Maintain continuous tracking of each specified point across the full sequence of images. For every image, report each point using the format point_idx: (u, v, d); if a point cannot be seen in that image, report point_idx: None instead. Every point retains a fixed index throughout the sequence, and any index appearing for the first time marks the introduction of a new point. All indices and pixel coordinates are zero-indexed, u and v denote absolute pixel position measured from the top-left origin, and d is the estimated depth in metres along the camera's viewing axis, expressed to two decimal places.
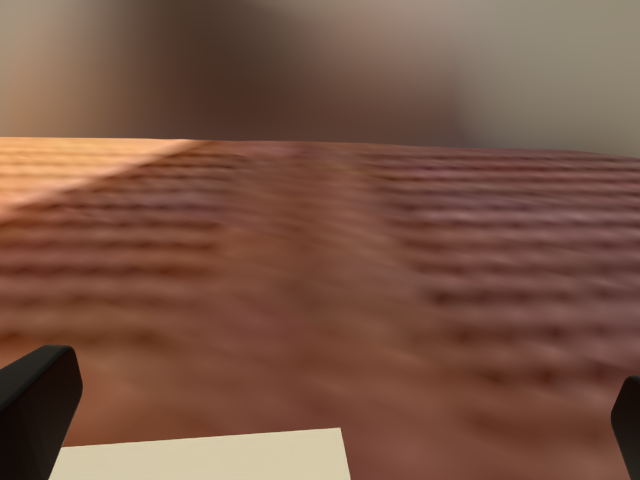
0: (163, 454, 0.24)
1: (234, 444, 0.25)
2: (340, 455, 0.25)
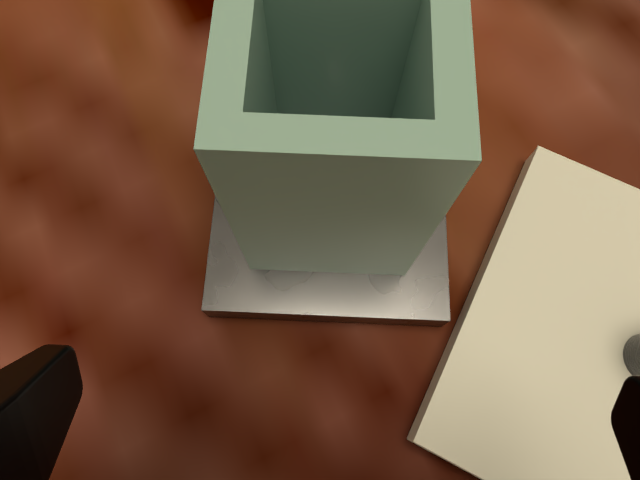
0: None
1: None
2: None
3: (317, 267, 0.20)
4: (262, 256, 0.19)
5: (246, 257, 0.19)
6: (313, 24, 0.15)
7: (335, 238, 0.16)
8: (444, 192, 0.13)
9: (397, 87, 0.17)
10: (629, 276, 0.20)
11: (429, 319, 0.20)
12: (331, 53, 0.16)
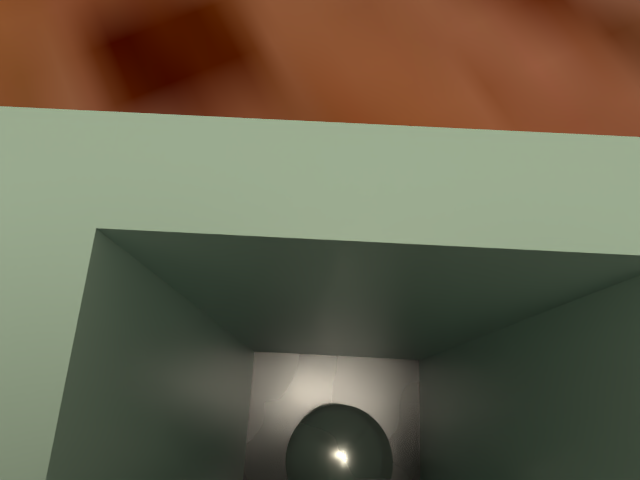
0: None
1: None
2: None
3: None
4: None
5: None
6: (296, 293, 0.06)
7: None
8: None
9: (475, 336, 0.08)
10: None
11: None
12: (339, 314, 0.07)
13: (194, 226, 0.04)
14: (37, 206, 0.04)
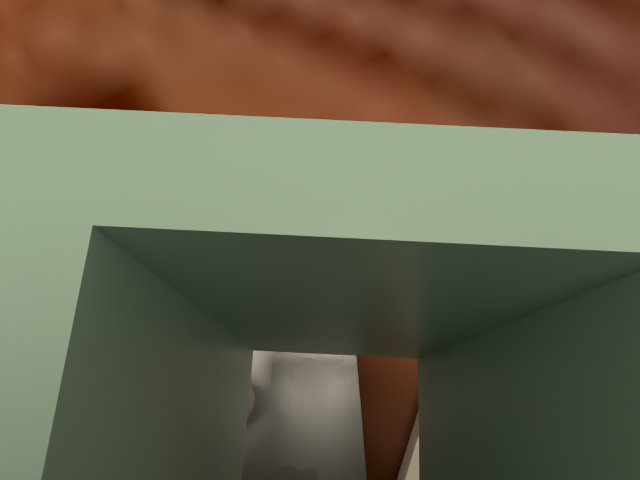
0: None
1: None
2: None
3: None
4: None
5: None
6: (293, 290, 0.06)
7: None
8: None
9: (473, 334, 0.08)
10: None
11: None
12: (337, 311, 0.07)
13: (191, 224, 0.04)
14: (34, 204, 0.04)
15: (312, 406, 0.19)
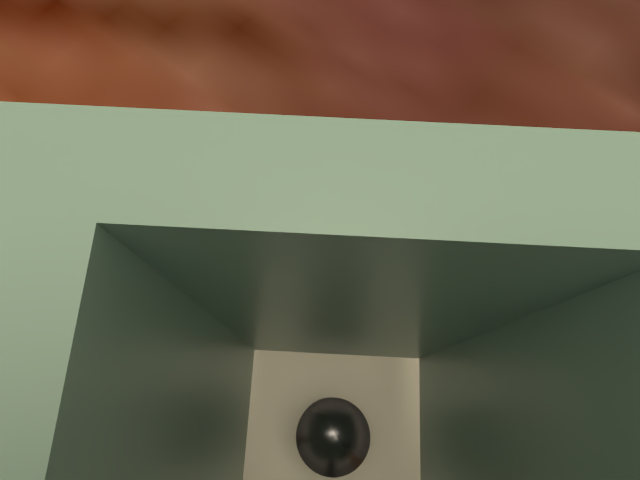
0: None
1: None
2: None
3: None
4: None
5: None
6: (296, 289, 0.06)
7: None
8: None
9: (476, 334, 0.08)
10: None
11: None
12: (339, 310, 0.07)
13: (196, 221, 0.04)
14: (38, 201, 0.04)
15: None
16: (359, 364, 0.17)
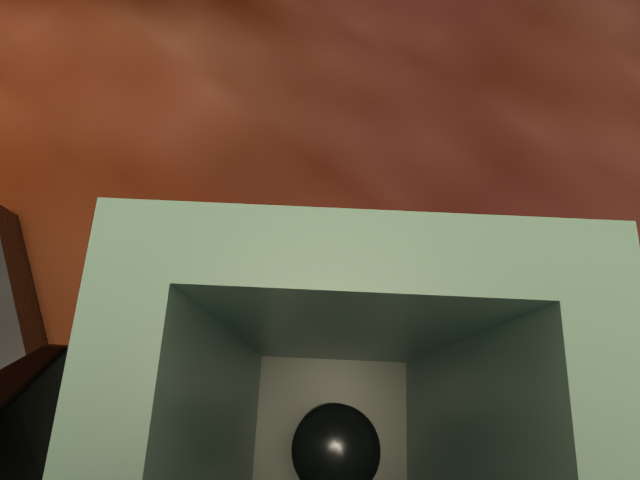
0: None
1: None
2: None
3: None
4: None
5: None
6: (300, 317, 0.08)
7: None
8: None
9: (446, 345, 0.10)
10: None
11: None
12: (334, 329, 0.09)
13: (236, 281, 0.06)
14: (130, 268, 0.06)
15: None
16: (365, 364, 0.15)
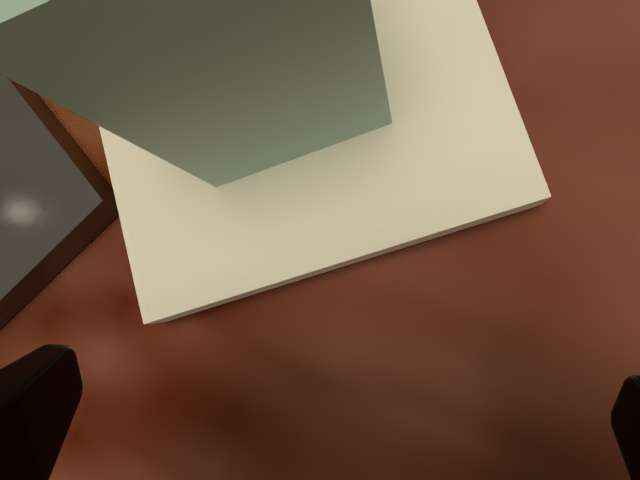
0: None
1: None
2: None
3: (285, 155, 0.16)
4: (213, 167, 0.15)
5: (196, 175, 0.16)
6: None
7: (268, 107, 0.13)
8: None
9: None
10: None
11: (88, 215, 0.18)
12: None
13: None
14: None
15: (5, 149, 0.19)
16: None
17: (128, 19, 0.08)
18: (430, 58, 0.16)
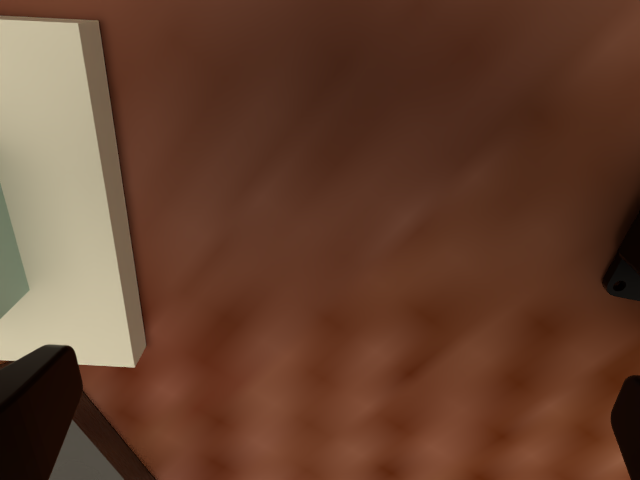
0: None
1: None
2: None
3: (2, 236, 0.18)
4: None
5: (5, 312, 0.19)
6: None
7: None
8: None
9: None
10: None
11: None
12: None
13: None
14: None
15: None
16: None
17: None
18: None
